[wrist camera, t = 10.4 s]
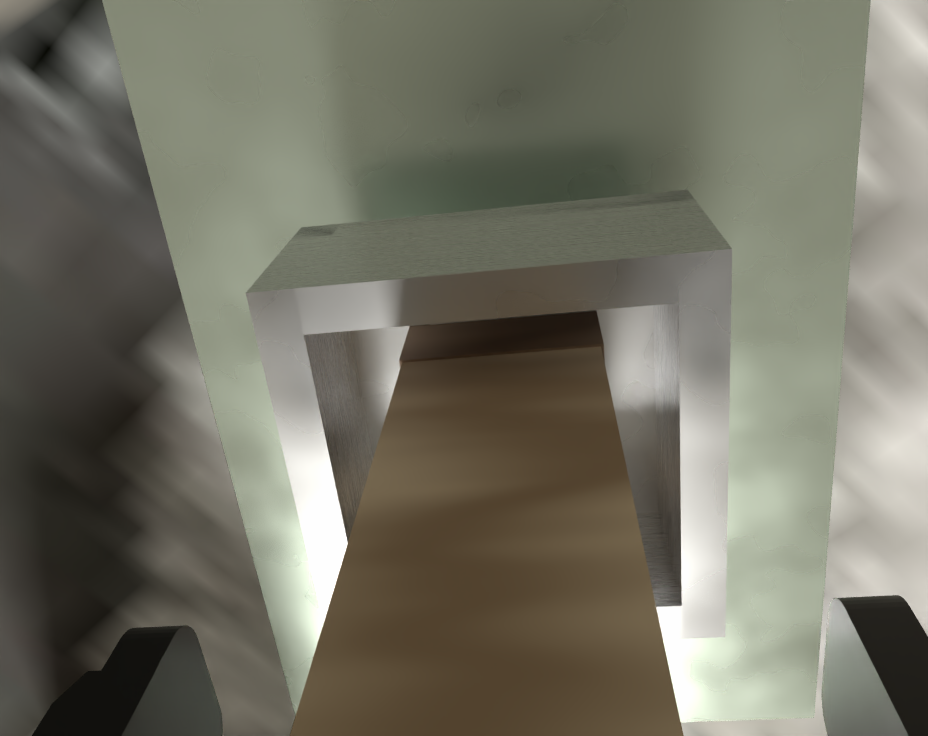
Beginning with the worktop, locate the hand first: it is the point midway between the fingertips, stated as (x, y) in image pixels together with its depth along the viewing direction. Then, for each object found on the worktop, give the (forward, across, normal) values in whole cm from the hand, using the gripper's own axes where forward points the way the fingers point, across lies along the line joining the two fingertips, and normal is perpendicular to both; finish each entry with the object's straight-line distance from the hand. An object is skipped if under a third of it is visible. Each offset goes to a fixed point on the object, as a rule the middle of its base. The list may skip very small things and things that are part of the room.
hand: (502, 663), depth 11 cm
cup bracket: (+12, 0, +3) cm, 13 cm away
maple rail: (+7, 0, 0) cm, 7 cm away
